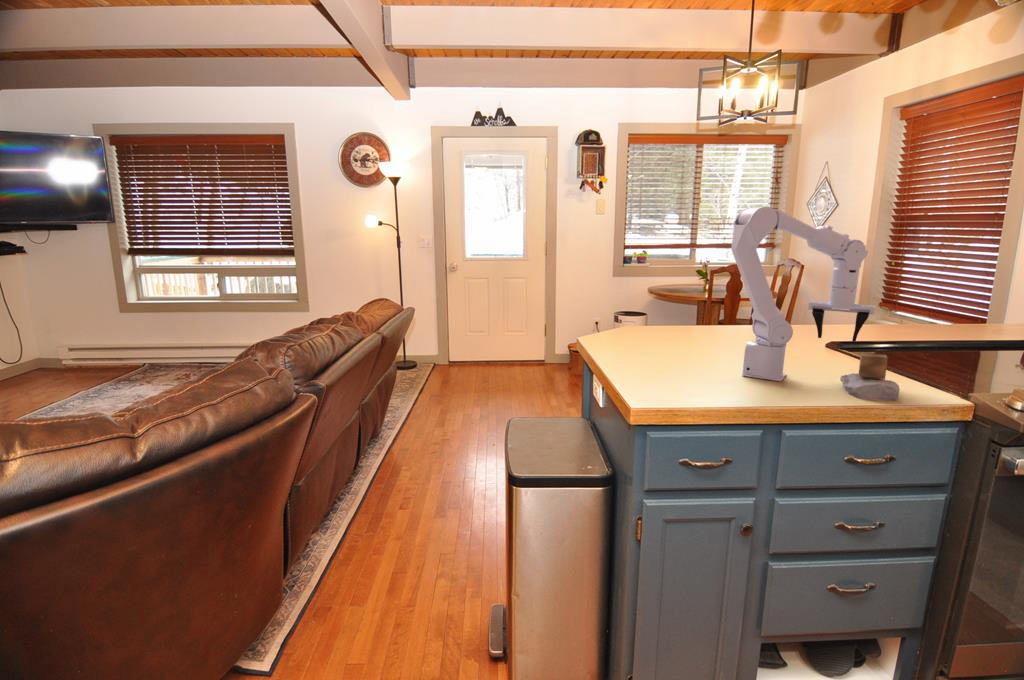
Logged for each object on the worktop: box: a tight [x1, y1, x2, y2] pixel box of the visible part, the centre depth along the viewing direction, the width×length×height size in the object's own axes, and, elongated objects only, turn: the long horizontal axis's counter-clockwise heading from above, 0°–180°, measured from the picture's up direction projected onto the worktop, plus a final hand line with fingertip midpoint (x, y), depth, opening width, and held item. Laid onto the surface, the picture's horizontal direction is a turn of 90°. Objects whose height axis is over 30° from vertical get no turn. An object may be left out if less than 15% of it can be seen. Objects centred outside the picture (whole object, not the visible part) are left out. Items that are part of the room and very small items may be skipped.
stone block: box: [840, 372, 900, 401], centre depth 126 cm, size 12×5×10 cm
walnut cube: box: [858, 352, 888, 380], centre depth 125 cm, size 5×5×5 cm
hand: (836, 339), depth 137 cm, fingers open, 7 cm apart
